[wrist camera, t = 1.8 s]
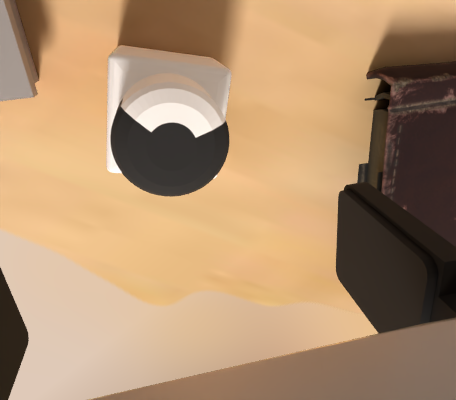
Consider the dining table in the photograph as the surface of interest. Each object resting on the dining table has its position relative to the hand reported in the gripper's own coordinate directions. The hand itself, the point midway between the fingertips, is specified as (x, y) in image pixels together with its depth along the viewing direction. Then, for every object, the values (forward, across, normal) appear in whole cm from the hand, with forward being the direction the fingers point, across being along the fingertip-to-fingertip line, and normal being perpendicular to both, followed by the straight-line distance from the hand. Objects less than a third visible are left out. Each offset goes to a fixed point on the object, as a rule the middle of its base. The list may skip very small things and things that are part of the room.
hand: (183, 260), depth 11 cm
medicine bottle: (+22, 0, 0) cm, 22 cm away
